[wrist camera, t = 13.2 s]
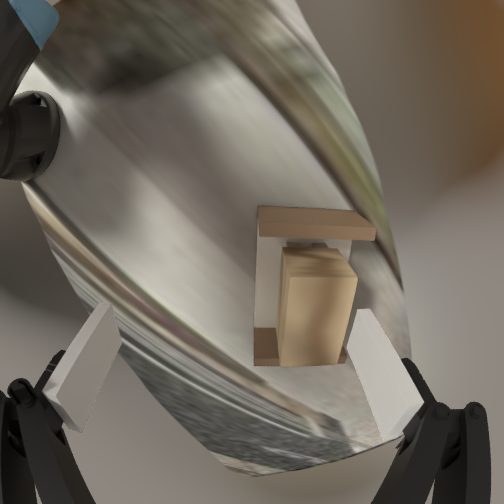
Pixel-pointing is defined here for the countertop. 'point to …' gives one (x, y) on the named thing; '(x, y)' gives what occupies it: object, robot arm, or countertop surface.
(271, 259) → the peg stand
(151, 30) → the countertop surface
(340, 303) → the shelf block
